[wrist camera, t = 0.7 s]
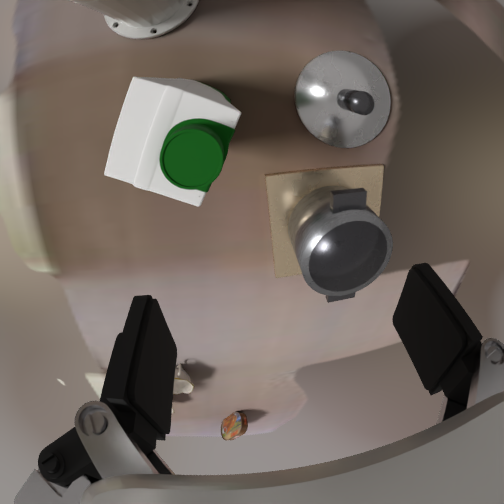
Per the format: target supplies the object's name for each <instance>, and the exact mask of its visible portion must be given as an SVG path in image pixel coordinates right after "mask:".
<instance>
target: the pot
mask: <svg viewBox="0 0 504 504" xmlns="http://www.w3.org/2000/svg"><path fill="white" fill-rule="evenodd" d="M383 170H384V166H383V165H382V164H373V165H356V166H342V167H330V168H319V169H308V170H299V171H290V172H282V173H274V174H266V175H265V181H266V190H267V199H268V208H269V218H270V228H271V238H272V248H273V258H274V268H275V277H276V278H281V277H287V276H293V275H299V274H303V277H304V279H305V281H306V283H307V284H308V285H309V286H310V287H311V288H312V289H313V290H315V291H316V292H318V293H321V294H324V295H326V299H327V302H333V301H338V300H343V299H348V298H353V297H355V292H356V291H359V290H361V289H363V288H364V287H366V286H368V285H369V284H370V283H372V282H373V281H374V280H375V279H376V278H377V277H378V276H379V275H380V274H381V273H382V272H383V270H384V269H385V267H386V266H387V264H388V262H389V259H390V257H391V253H392V248H393V241H392V236H391V233H390V230H389V229H388V227H387V226H386V225H385V224H384V222H383V221H382V220H381V219H380V218H379V215H380V205H381V196H382V184H383Z"/></svg>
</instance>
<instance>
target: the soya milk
mask: <svg viewBox="0 0 504 504" xmlns="http://www.w3.org/2000/svg"><path fill="white" fill-rule="evenodd" d="M240 115H241V112H240V111H239V110H238V109H236V108H235V107H234V106H233V105H232V104H231V100H230V99H229V98H228V97H227V96H226V95H225V94H224V93H223V92H221V91H219V90H218V89H215V88H213V87H211V86H209V85H206V84H204V83H201V82H198V81H195V80H189V79H182V78H177V79H168V78H149V77H133V79H132V82H131V84H130V87H129V90H128V92H127V95H126V98H125V101H124V104H123V107H122V110H121V113H120V116H119V120H118V123H117V126H116V130H115V133H114V137H113V140H112V144H111V148H110V152H109V156H108V160H107V164H106V168H105V173H104V175H106V176H109V177H113V178H116V179H119V180H122V181H125V182H128V183H131V184H134V185H133V186H135V187H137V188H140V189H144V190H149V191H152V192H155V193H158V194H161V195H164V196H167V197H171V198H174V199H177V200H180V201H183V202H186V203H189V204H192V205H195V206H201V204H202V201H203V199H204V197H205V194H206V192H208V190H209V188H210V186H211V184H212V182H213V181H214V180H215V179H216V178H217V177H218V175H219V174H220V172H221V170H222V167H223V164H224V161H225V159H226V156H227V153H228V147H229V143H230V141H231V139H232V136H233V134H234V132H235V127H236V124H237V122H238V120H239V118H240Z"/></svg>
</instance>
